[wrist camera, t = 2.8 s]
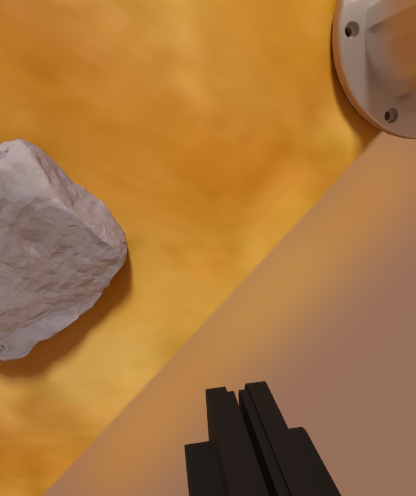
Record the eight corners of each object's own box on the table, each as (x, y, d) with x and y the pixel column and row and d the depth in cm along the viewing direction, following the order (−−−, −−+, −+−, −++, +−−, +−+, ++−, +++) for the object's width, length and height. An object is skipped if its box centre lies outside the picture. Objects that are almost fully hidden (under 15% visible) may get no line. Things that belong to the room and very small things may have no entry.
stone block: (142, 230, 27) (17, 119, 22) (150, 262, 23) (-2, 133, 18) (25, 340, 28) (-116, 257, 24) (12, 390, 24) (-162, 301, 19)
